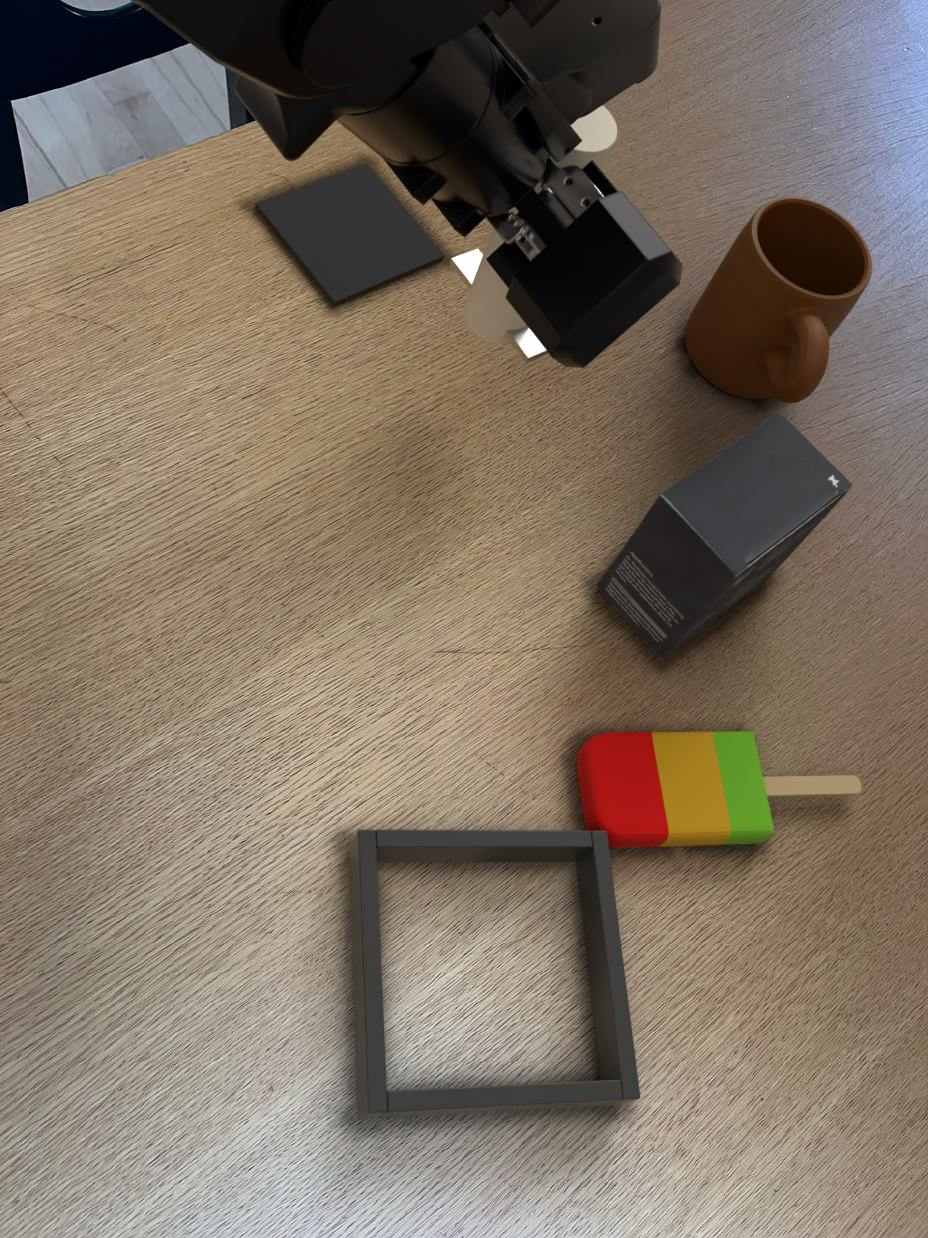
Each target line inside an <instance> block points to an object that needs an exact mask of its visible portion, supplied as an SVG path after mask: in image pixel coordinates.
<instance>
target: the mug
mask: <svg viewBox="0 0 928 1238" xmlns="http://www.w3.org/2000/svg"><path fill="white" fill-rule="evenodd" d="M872 273H873V260H872V255H871V251H870V249H869V246H868V244H867V242H866V240H865V239H864V238H863V236H862V235H861V233H860V232H859V231H858V230H857V228H856V227H855V226H854V225H853V224H852V223H851V222H850V221H849V220H848V219H846V217H844V216H843V215H842V214H840V213H839V212H837V211H836V210H834V209H832V208H831V207H829V206H827V205H825V204H823V203H821V202H817V201H815V200H812V199H808V198H804V197H795V196H784V197H777V198H775V199H772V200H770V201H768V202H766V203H764V204H763V205H760V207H758V209H757V210H756V211H755V212H754V213H753V215H752V216H751V217H750V219H749V220H748V221H747V223H746V224H745V225H744V226H743V228H742V229H741V230H740V232H739V233H738V235H737V236H736V238H735V240H734V241H733V243H732V244H731V246H730V248H729V249H728V251H727V253H726V254H725V256H724V258H723V259H722V261H721V262H720V264H719V266H718V267H717V269H716V270H715V272H714V274H713V275H712V277H711V279H710V281H709V282H708V284H707V286H706V287H705V289H704V291H702V294H701V296H700V297H699V299H698V300H697V302H696V304H695V306H694V307H693V308H692V310H691V313H690V315H689V316H688V319H687V321H686V322H687V323H686V326H685V330H684V339H685V345H686V350H687V353H688V356H689V358H690V360H691V362H692V364H693V366H694V367H695V368H696V369H697V371H698V372H699V373H700V375H701V376H703V378H704V379H705V380H707V381H708V382H709V383H710V384H711V385H713V386H714V387H715V388H717V389H719V390H721V391H722V392H724V393H727V394H728V395H731V396H734V397H738V398H741V399H746V400H763V399H764V400H765V399H768V398H773V397H775V399H777V400H778V401H780V402H782V403H784V404H798V403H800V402H802V401H804V400H805V399H807V398H809V397H810V396H811V395H812V394H813V393H814V391H815V390H816V389H817V387H819V385H820V383H821V382H822V380H823V378H824V375H825V374H826V371H827V367H828V363H829V358H830V338H831V337H832V336H833V335H834V333H835V332H836V330H837V329H838V328H839V327H840V325H842V323H843V322H844V320H845V319H846V318H847V317H848V315H849V314H850V313H851V312H852V310H853V309H854V307H855V306H856V304H857V303H858V301H859V299H860V297H861V296H862V294H863V293H864V291H865V290H866V288H867V287H868V286H869V283H870V281H871V277H872Z"/></svg>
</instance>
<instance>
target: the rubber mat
mask: <svg viewBox="0 0 928 1238" xmlns="http://www.w3.org/2000/svg"><path fill="white" fill-rule="evenodd" d="M254 207H255V209H256V210H257V212H259V214H260V215H261V216H262V217H263V219H264V220H265V221H266V222H267V223H268V225H269V226H270V228H272V230H273V231H274V233H276V235H277V237H279V239H280V240H281V241H282V242H283V244H284V245H285V246H286V247H287V248H288V250H289V251H290V253H292V255H293V256H294V257H295V258H296V260H297V261H298V262H299V263H300V264H301V266H302V267H303V268H304V270H305V271H306V272H307V273H308V275H309V276H310V277H311V279H313V281H314V282H315V284H317V287H319V288H320V290H321V291H322V293H324V295H325V296H326V297H327V298H328V299H329V301H330V302H331V303H332V305H333V306H337V305H338V304H341V303H343V302H346V301H348V300H351V299H352V298H355V297H357V296H359V295H362V294H364V293H367V292H369V291H371V290H373V289H376V288H378V287H380V286H383V285H386V284H388V283H390V282H393V281H395V280H398V279H399V278H402V277H405V276H407V275H409V274H412V273H414V272H416V271H419V270H421V269H423V268H426V267H427V266H428V267H429V266H430V265H433V264H435V263H438V262H441V261H442V260H444V259H445V256H446V255H445V254H444V253H443V251H441V249H440V248H439V247H438V245H437V244H436V243H435V242H434V241H433V239H432V238H431V237H430V236H429V235H428V234H427V232H426V231H424V229H423V228H422V226H421V225H420V224H419V223H418V222H417V221H416V219H415V218H414V217H413V215H411V213H409V211H408V210H407V209H406V207H405V206H404V205H403V204H402V203H401V201H399V199H398V198H397V197H396V196H395V195H394V193H393V192H392V191H391V190H390V188H389V187H388V186H387V185H386V184H385V182H384V180H382V179H381V178H380V176H379V175H378V174H377V173H376V172H375V170H374V169H373V168H372V167H371V166H370V165H369V163H367V162H363V163H361V164H358V165H355V166H353V167H349V168H347V169H344V170H341V171H339V172H335V173H333V174H331V175H328V176H325V177H322V178H319V179H317V180H314V181H311V182H309V183H306V184H303V185H300V186H297V187H295V188H293V189H289V190H286V191H284V192H282V193H281V192H280V193H278V194H276V195H273V196H270V197H268V198H265V199H262V200H260V201H257V202H255V203H254Z"/></svg>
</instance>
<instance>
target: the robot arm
mask: <svg viewBox="0 0 928 1238" xmlns="http://www.w3.org/2000/svg"><path fill="white" fill-rule="evenodd" d="M129 1H131V2H132V3H134V4H136V5H138V6H141V7H142V8H143V9H145V10H146V11H148V12H149V13H150V14H152V15H153V16H154V17H156V18H157V19H158V20H159V21H161V22H162V23H163V24H165V25H166V26H167V27H169V28H170V29H171V30H172V31H173V32H175V33H176V34H178V35H179V36H180V37H182V38H183V39H184V40H186V41H187V42H188V43H189V44H191V45H192V46H193V47H195V48H196V49H197V50H198V51H200V52H201V53H202V54H204V55H205V56H207V58H209V59H210V60H212V61H213V62H214V63H216V64H217V65H219V66H222V67H224V68H225V69H228V70H229V71H231V72H234V73H235V74H237V75H236V78H235V82H234V86H233V88H234V89H233V90H234V93H235V94H236V96H237V98H239V100H240V101H241V103H242V104H243V105H244V107H245V108H246V109H247V110H248V112H249V114H250V115H251V116H252V118H253V119H254V120H255V122H256V123H257V124H258V125H259V127H260V128H261V129H262V131H263V133H265V134H266V136H267V137H268V139H269V140H270V141H271V143H272V144H273V146H275V148H276V150H277V151H278V152H279V153H280V155H281V156H282V158H283V159H284V160H286V161H287V162H295V161H296V160H298V159H300V158H301V157H302V156H303V155H304V154H305V153H306V152H307V151H308V150H309V149H310V148H311V147H312V146H313V144H315V142H317V141H318V139H319V138H321V136H322V135H324V133H325V132H326V131H327V130H328V129H329V128H330V127H331V126H332V125H334V123H335V122H338V123H339V124H340V125H341V126H343V127H344V128H345V129H346V130H347V131H349V132H350V133H351V134H352V135H354V136H355V137H356V138H357V139H358V140H360V141H361V142H362V143H364V144H365V145H366V146H367V147H368V148H370V149H371V150H372V151H374V152H375V154H377V155H378V156H380V157H381V158H382V160H383V161H384V162H385V163H386V165H387V166H388V167H389V169H390V170H391V171H392V173H393V174H394V176H396V177H397V179H398V180H399V182H400V183H401V184H402V185H403V186H404V188H405V189H406V190H407V192H408V193H409V194H410V196H411V197H412V198H413V199H414V200H416V201H417V202H418V203H420V205H422V206H425V205H426V204H427V203H428V202H429V201H430V200H431V201H432V203H433V204H434V205H435V207H436V208H437V209H438V210H439V211H440V213H441V214H442V215H443V217H444V218H445V219H446V221H447V222H448V223H449V225H450V226H451V227H452V228H453V230H454V231H455V232H457V233H458V234H459V235H460V236H461V237H463V238H464V239H465V238H466V237H467V236H468V235H469V234H470V233H471V232H472V231H473V230H475V229H476V228H477V226H478V225H480V224H481V223H482V222H483V221H484V220H485V219H486V221H487V222H488V223H489V224H490V225H491V227H492V229H493V228H494V229H495V231H496V232H497V233H498V234H499V236H500V237H501V238H502V239H503V241H504V243H502V244H501V245H500V246H499V247H498V248H497V249H496V250H495V251H494V252H493V253H492V254H491V255H490V256H489V257H487V259H486V260H487V262H488V263H489V264H490V265H491V267H492V268H493V269H494V271H495V272H496V273H497V274H498V276H499V277H500V278H501V279H502V281H503V282H504V283H505V285H506V286H507V287H508V288H509V290H508V292H507V294H506V297H505V298H506V299H507V301H508V302H509V303H510V304H511V306H512V307H513V308H514V310H515V311H516V312H517V313H518V315H519V316H520V317H521V319H522V320H523V321H524V322H525V324H526V325H527V326H528V328H529V329H530V330H531V331H532V333H533V334H534V335H535V337H536V338H537V339H538V340H539V342H540V343H541V344H542V346H543V347H544V348H545V349H546V351H547V352H548V355H549V356H550V357H551V359H553V360H555V361H557V363H558V364H561V365H562V366H564V367H565V368H576V369H577V368H578V369H584V368H586V367H587V366H588V365H589V364H590V363H592V362H593V361H594V360H595V359H596V358H597V357H598V356H599V355H601V354H602V353H603V352H604V351H605V350H606V349H608V348H609V347H610V346H611V345H612V344H613V343H614V342H616V340H618V339H619V338H620V337H621V336H622V335H623V334H625V333H626V332H627V331H629V329H630V328H631V327H632V326H634V325H635V324H636V323H637V322H639V321H640V319H642V318H643V317H644V316H645V315H646V314H647V313H649V312H650V311H651V310H652V309H653V308H654V307H655V306H656V305H658V304H659V303H661V301H663V300H664V299H665V298H666V297H667V296H668V295H669V294H670V293H671V292H672V291H674V290H675V289H676V288H677V287H678V286H679V285H681V279H682V273H683V263H682V261H681V260H680V259H679V258H678V257H677V255H676V254H675V252H674V251H673V250H672V249H671V248H670V246H669V245H668V244H667V243H666V242H665V240H664V239H663V238H662V237H661V236H660V235H659V233H658V232H657V231H656V230H655V229H654V227H653V226H652V225H651V224H650V223H649V221H647V219H646V218H645V217H644V215H643V214H642V213H641V212H640V210H639V209H638V208H637V207H636V206H635V204H634V203H633V202H632V201H631V200H630V198H629V197H628V196H627V195H626V194H625V193H624V191H623V190H619V189H618V188H617V187H616V186H615V185H614V184H613V182H611V180H610V179H609V177H607V176H606V174H605V173H604V172H603V170H602V171H601V169H600V168H599V167H598V166H597V165H596V163H595V162H594V161H593V160H591V161H590V162H589V163H588V164H587V165H586V166H585V167H584V168H583V169H581V168H580V167H578V166H575V165H567V166H564V167H557V166H556V165H555V164H554V162H553V161H552V160H551V159H550V156H551V157H552V158H553V159H554V160H555V161H556V162H560V161H562V160H563V159H564V158H565V157H566V156H567V155H568V154H569V153H570V152H571V151H572V150H573V149H574V148H575V147H576V146H578V145H579V144H580V143H581V142H582V139H581V138H580V137H579V136H578V134H577V133H576V132H575V130H574V129H573V128H572V127H571V125H572V124H573V123H574V122H575V121H576V120H577V119H578V118H582V117H584V116H587V115H588V114H590V113H592V112H593V111H595V110H596V109H598V108H599V107H601V106H602V105H603V106H604V105H606V104H607V103H608V102H609V101H611V100H612V99H613V100H614V99H615V97H617V96H619V95H620V94H621V93H623V92H625V91H626V90H627V89H629V88H631V87H632V86H634V85H635V84H641V83H642V82H644V81H645V80H647V79H648V78H650V77H651V76H652V75H653V73H655V71H656V69H657V66H658V63H659V48H660V46H659V45H660V30H661V18H662V17H661V16H662V3H661V0H129ZM541 182H542V184H541V186H540V187H541V188H542V190H541V191H540V192H539V193H537V191H536V190H535V189H534V188H535V187H536V186H537V184H539V183H541ZM549 188H551V189H552V191H553V192H554V193H555V194H554V193H553V192H552V191H551V190H550V189H549ZM514 207H515V208H516V209H517V210H518V211H519V212H518V213H517V214H516V215H515V214H514V213H513V212H510V213H509V211H510V210H511V209H512V208H514Z"/></svg>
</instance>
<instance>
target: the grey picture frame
mask: <svg viewBox="0 0 928 1238" xmlns="http://www.w3.org/2000/svg"><path fill="white" fill-rule="evenodd" d="M378 863H575V865H576V874H577V883H578V891H579V899H580V900H579V901H580V909H581V919H582V927H583V936H584V944H585V945H584V946H585V952H586V953H585V954H586V962H587V963H586V964H587V971H588V978H589V989H590V997H591V1004H592V1005H591V1006H592V1014H593V1015H592V1016H593V1024H594V1033H595V1041H596V1050H597V1060H598V1069H599V1075H600V1076H599V1077H600V1080H584V1081H583V1080H582V1081H563V1082H562V1081H561V1082H546V1083H545V1082H544V1083H540V1082H539V1083H521V1084H520V1083H519V1084H502V1085H482V1086H481V1085H480V1086H463V1087H462V1086H461V1087H441V1088H440V1087H438V1088H424V1089H423V1088H419V1089H402V1090H401V1089H400V1090H399V1089H398V1090H388V1084H387V1083H388V1082H387V1062H386V1058H387V1057H386V1039H385V1038H386V1037H385V1035H386V1034H385V1016H384V1014H385V1013H384V992H383V989H384V988H383V968H382V967H383V965H382V946H381V945H382V943H381V924H380V923H381V922H380V921H381V920H380V919H381V918H380V898H379V874H378V873H379V872H378ZM348 867H349V899H350V927H351V928H350V929H351V960H352V988H353V989H352V991H353V992H352V993H353V1014H354V1015H353V1016H354V1017H353V1020H354V1050H355V1052H354V1053H355V1071H356V1072H355V1083H356V1111H357V1112H356V1113H357V1119H358V1120H374V1119H392V1118H410V1117H413V1118H414V1117H427V1116H428V1117H429V1116H449V1115H466V1114H467V1115H468V1114H482V1113H483V1114H484V1113H485V1114H486V1113H503V1112H519V1111H521V1112H522V1111H537V1110H540V1111H541V1110H556V1109H574V1108H576V1109H577V1108H592V1107H593V1108H594V1107H604V1106H605V1107H608V1106H609V1107H610V1106H611V1107H612V1106H613V1107H614V1106H621V1105H624V1104H627V1103H631V1102H634V1101H636V1100H640V1099H641V1091H640V1081H639V1075H638V1074H639V1073H638V1067H637V1058H636V1051H635V1043H634V1036H633V1028H632V1018H631V1012H630V1011H631V1010H630V1004H629V996H628V995H629V994H628V986H627V980H626V979H627V978H626V971H625V963H624V956H623V948H622V947H623V946H622V940H621V932H620V925H619V917H618V909H617V900H616V892H615V885H614V878H613V867H612V860H611V852H610V847H609V844H608V836H607V831H588V830H575V829H574V830H573V829H572V830H569V829H567V830H564V829H563V830H559V829H558V830H557V829H556V830H555V829H553V830H552V829H550V830H549V829H547V830H546V829H544V830H543V829H540V830H539V829H358V830H357V832H356V833H355V835H354V837H353V838H352V840H351V842H350V843H349V845H348Z"/></svg>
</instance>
